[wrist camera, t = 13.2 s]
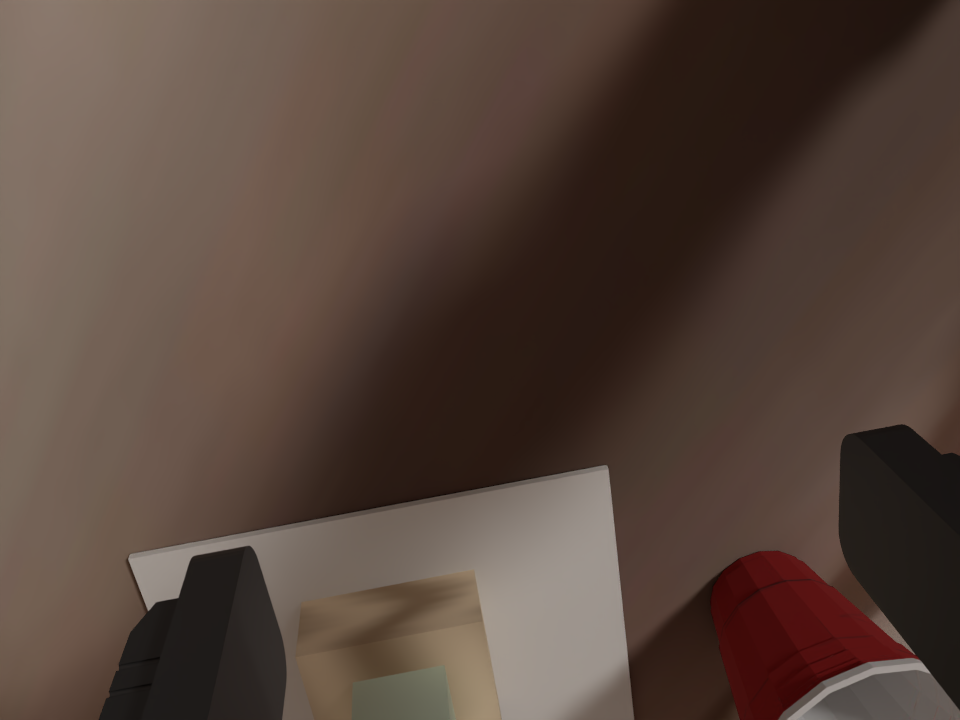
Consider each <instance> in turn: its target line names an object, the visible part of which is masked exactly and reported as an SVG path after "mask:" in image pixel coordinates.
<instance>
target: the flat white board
mask: <svg viewBox="0 0 960 720" xmlns="http://www.w3.org/2000/svg"><path fill="white" fill-rule="evenodd" d="M243 546H251V547H252V548H253V549H254V551H255V553H256V555H257V558H258V561H259V564H260V567H261V570H262V574H263V577H264V580H265V583H266V586H267V590H268V593H269V596H270V599H271V602H272V606H273V609H274V612H275V615H276V619H277V622H278V625H279V628H280V631H281V635H282V639H283V643H284V649H285V656H286V668H287V681H286V691H285V699H284V708H283V716H282V720H314V717H313V713H312V710H311V707H310V704H309V700H308V697H307V694H306V691H305V687H304V684H303V681H302V678H301V674H300V671H299V668H298V665H297V661H296V658H295V656H296V647H297V638H298V629H299V620H300V611H301V602H306V601H311V600H316V599H321V598H327V597H332V596H337V595H342V594H347V593H353V592H358V591H363V590H368V589H374V588H379V587H384V586H389V585H395V584H400V583H405V582H410V581H416V580H421V579H426V578H431V577H436V576H442V575H447V574H452V573H457V572H463V571H468V570H473V569H474V572H475V577H476V582H477V588H478V593H479V598H480V604H481V609H482V614H483V620H484V625H485V630H486V636H487V641H488V646H489V652H490V657H491V662H492V668H493V673H494V678H495V684H496V689H497V694H498V700H499V706H500V712H501V718H502V720H634V713H633V703H632V694H631V684H630V674H629V665H628V655H627V645H626V635H625V626H624V616H623V606H622V596H621V587H620V577H619V567H618V558H617V548H616V538H615V528H614V519H613V509H612V499H611V489H610V480H609V470H608V467H607V465H603V466H598V467H593V468H587V469H582V470H577V471H571V472H566V473H561V474H555V475H550V476H545V477H539V478H534V479H529V480H523V481H518V482H513V483H507V484H502V485H497V486H491V487H486V488H481V489H475V490H470V491H465V492H459V493H454V494H449V495H443V496H438V497H433V498H427V499H422V500H417V501H411V502H406V503H401V504H395V505H390V506H385V507H379V508H374V509H369V510H363V511H358V512H353V513H347V514H342V515H337V516H331V517H326V518H321V519H315V520H310V521H305V522H299V523H294V524H289V525H283V526H278V527H273V528H267V529H262V530H257V531H251V532H246V533H241V534H235V535H230V536H225V537H219V538H214V539H209V540H203V541H198V542H193V543H187V544H182V545H177V546H171V547H166V548H161V549H155V550H150V551H145V552H139V553H134V554H130V556H129V558H128V560H129V563H130V565H131V568H132V571H133V573H134V576H135V578H136V581H137V583H138V586H139V589H140V591H141V594H142V596H143V599H144V602H145V604H146V607H147V609H148V611H149V610H150V609H151V608H152V607H153V605H154V604H155V603H156V602H159V601H165V600H170V599H175V598H179V594H180V591H181V588H182V585H183V581H184V578H185V575H186V572H187V568H188V565H189V562H190V560H191V558H192V557H193V556H196V555H201V554H206V553H212V552H217V551H222V550H228V549H233V548H238V547H243Z"/></svg>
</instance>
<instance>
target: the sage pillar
mask: <svg viewBox="0 0 960 720" xmlns="http://www.w3.org/2000/svg"><path fill="white" fill-rule="evenodd" d="M352 720H456V717H455V713H454V708H453V703H452V698H451V694H450V689H449V684H448V680H447V675H446V670H445V665H442V666H436V667H431V668H426V669H421V670H416V671H410V672H405V673H400V674H395V675H390V676H384V677H379V678H374V679H369V680H364V681H358V682H353V688H352Z"/></svg>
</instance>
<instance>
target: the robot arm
mask: <svg viewBox="0 0 960 720" xmlns="http://www.w3.org/2000/svg"><path fill="white" fill-rule="evenodd" d="M839 538H840V543H841V547H842V551H843V554H844V557H845V560H846V562H847V564H848V566H849V568H850V570H851V572H852V573H853V575H854V576H855V578H856V579H857V580H858V581H859V583H860V584H861V585H862V587H863V588H864V589H865V590H866V592H867V593H868V594H869V595H870V597H871V598H872V599H873V601H874V602H875V603H876V604H877V606H878V607H879V608H880V610H881V611H882V612H883V613H884V615H885V616H886V617H887V618H888V620H889V621H890V622H891V624H892V625H893V626H894V627H895V629H896V630H897V631H898V632H899V634H900V635H901V636H902V638H903V639H904V640H905V641H906V643H907V644H908V645H909V647H910V648H911V649H912V650H913V652H914V653H915V654H916V655H917V657H918V658H919V659H920V661H921V662H922V663H923V664H924V666H925V667H926V668H927V669H928V671H929V672H930V673H931V675H932V676H933V677H934V678H935V680H936V681H937V682H938V683H939V685H940V686H941V687H942V689H943V690H944V691H945V692H946V694H947V695H948V696H949V698H950V699H951V700H952V701H953V703H954V704H955V705H956V706H957V708H958V709H959V710H960V456H959V455H956V454H954V453H948V454H943V455H941V454H940V453H939V452H938V451H937V450H936V449H935V448H933V447H932V446H931V445H930V444H929V443H928V442H926V441H925V440H924V439H923V438H922V437H921V436H919V435H918V434H917V433H916V432H915V431H914V430H913V429H911V428H910V427H909V426H906V425H902V424H901V425H895V426H890V427H885V428H879V429H874V430H869V431H863V432H858V433H853V434H848V435H846V436H845V438H844V439H843V441H842V445H841V453H840V493H839ZM286 681H287V668H286V656H285V649H284V643H283V639H282V635H281V631H280V628H279V625H278V622H277V619H276V615H275V612H274V609H273V606H272V602H271V599H270V596H269V593H268V590H267V586H266V583H265V580H264V577H263V574H262V570H261V567H260V564H259V561H258V558H257V555H256V553H255V551H254V549H253V548H252V547H251V546H243V547H238V548H233V549H228V550H222V551H217V552H212V553H206V554H201V555H196V556H193V557H192V558H191V560H190V562H189V565H188V568H187V572H186V575H185V578H184V581H183V585H182V588H181V591H180V594H179V598H175V599H170V600H165V601H159V602H156V603H155V604H154V605H153V607H152V608H151V609H150V610H149V611H148V612H147V614H146V615H145V616H144V617H143V618H142V619H141V621H140V622H139V623H138V624H137V625H136V627H135V628H134V629H133V630H132V631H131V632H130V635H129V637H128V640H127V643H126V646H125V648H124V651H123V654H122V657H121V660H120V662H119V671H116V673H115V676H114V679H113V682H112V684H111V687H110V690H109V693H110V697H109V698H106V701H105V704H104V707H103V709H102V712H101V715H100V718H99V720H282V716H283V708H284V699H285V691H286Z"/></svg>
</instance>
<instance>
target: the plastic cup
mask: <svg viewBox="0 0 960 720" xmlns="http://www.w3.org/2000/svg"><path fill="white" fill-rule="evenodd" d="M710 604H711V614H712V618H713V621H714V625H715V628H716V632H717V635H718V639H719V642H720V644H719V649H720V653H721V656H722V659H723V663H724V666H725V670H726V673H727V677H728V680H729V683H730V687H731V690H732V694H733V697H734V701H735V704H736V707H737V711H738V714H739V718H740V720H960V710H959V709H958V708H957V706H956V705H955V704H954V703H953V701H952V700H951V699H950V698H949V696H948V695H947V694H946V692H945V691H944V690H943V689H942V687H941V686H940V685H939V683H938V682H937V681H936V680H935V678H934V677H933V676H932V675H931V673H930V672H929V671H928V669H927V668H926V667H925V666H924V664H923V663H922V662H921V661H920V659H919V658H918V657H917V655H914V654H913V653H911V652H910V651H909V650H908V649H906V648H905V647H904V646H903V645H902V644H899V643H896V642H895V641H894V640H893V639H892V638H891V637H890V636H888V635H887V634H886V633H885V632H884V631H883V630H882V629H880V628H879V627H878V626H877V625H876V624H875V623H874V622H872V621H871V620H870V619H869V618H868V617H867V616H866V615H864V614H863V613H862V612H861V611H860V610H859V609H858V608H857V607H855V606H854V605H853V604H852V603H851V602H850V601H849V600H847V599H846V598H845V597H844V596H843V595H842V594H841V593H839V592H838V591H837V590H836V589H835V588H834V587H832V586H829V585H828V584H827V583H825V582H824V581H823V580H822V579H821V578H820V577H819V576H818V575H817V574H816V573H815V572H814V571H813V570H812V569H810V568H809V567H808V566H807V565H806V564H805V563H804V562H803V561H800V560H798V559H797V558H796V557H794V556H791V555H789V554H786V553H783V552H780V551H759V552H756V553H754V554H751V555H748V556H745V557H742V558H740V559H738V560H737V561H736V562H734V563H733V564H732V565H730V566H729V567H728V568H727V569H725V570H724V571H723V572H722V574H721V575H720V577H719V578H718V580H717V581H716V583H715V584H714V586H713V590H712V595H711V601H710Z"/></svg>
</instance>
